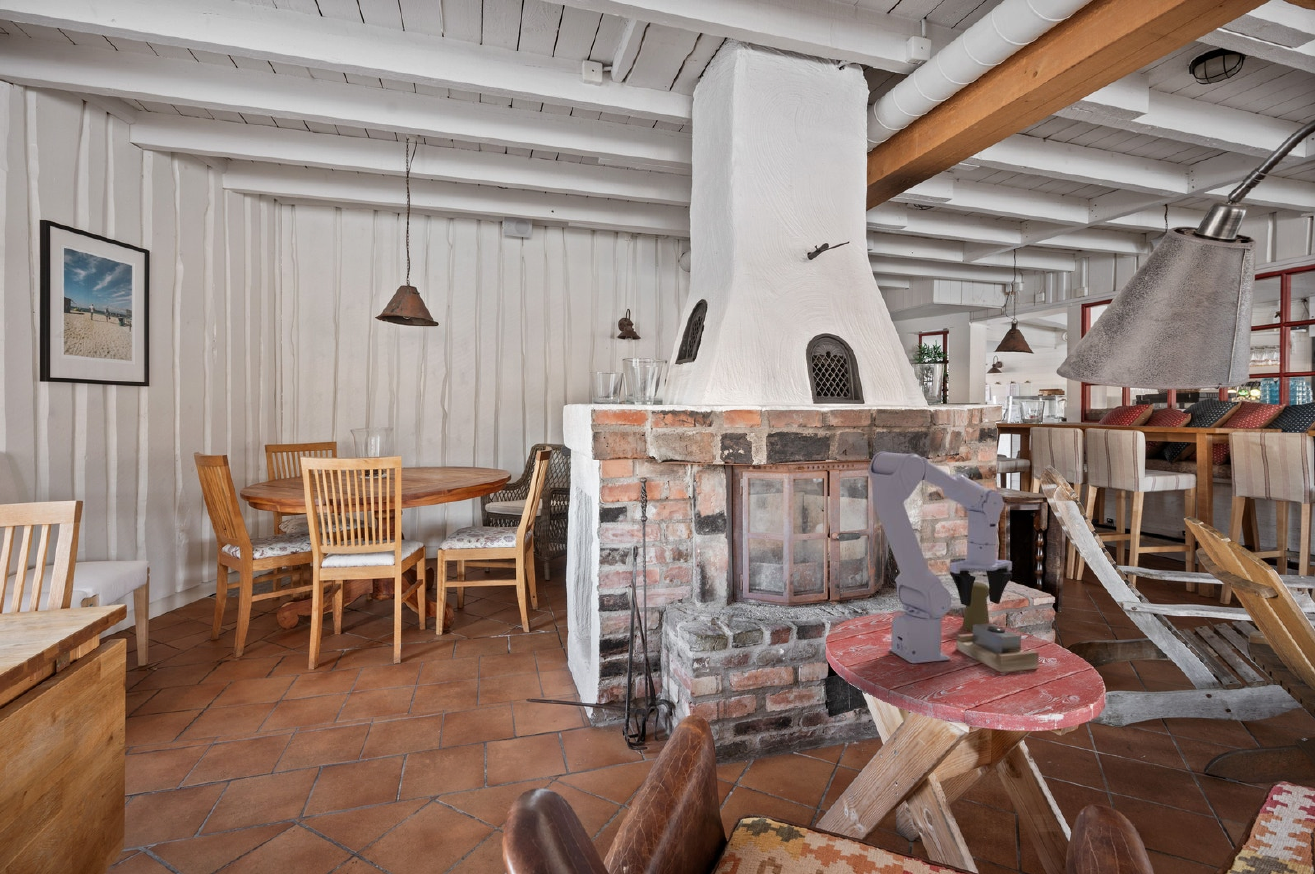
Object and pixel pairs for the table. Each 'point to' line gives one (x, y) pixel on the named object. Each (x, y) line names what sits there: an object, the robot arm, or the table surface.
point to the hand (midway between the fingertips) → (980, 603)
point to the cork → (977, 607)
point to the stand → (998, 656)
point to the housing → (996, 639)
